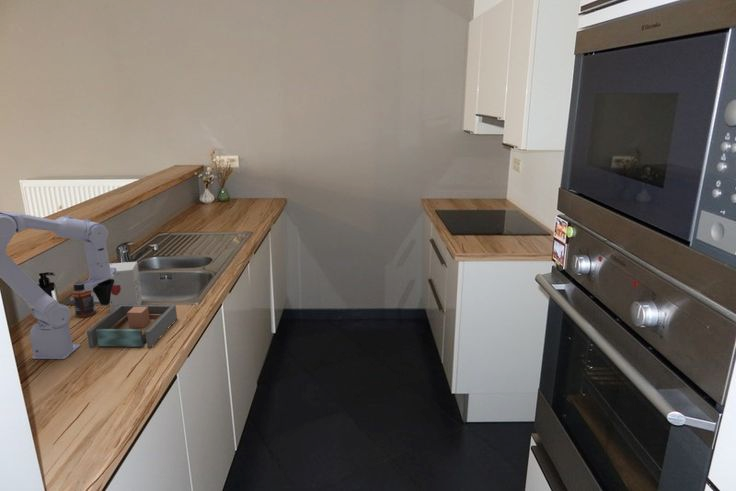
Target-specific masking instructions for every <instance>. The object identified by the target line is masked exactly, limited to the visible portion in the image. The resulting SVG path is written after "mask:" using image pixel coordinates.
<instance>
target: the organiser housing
mask: <svg viewBox="0 0 736 491" xmlns="http://www.w3.org/2000/svg"><path fill="white" fill-rule="evenodd" d="M133 307H148V311H149V314H162V315H161V316H160V317H159V318H158V319H157V320H156V322H155V323H154V324H153V325H152V326H151V327H150V328H149V329H148V330H147V331H146V332H145V335H146V341H145V343H146V346H147V347H151V346H152V345H153V344H154V343H155V342H156V341H157V340H158V338H159V337H160V336H161V335H162V334H163V333H164V332H165V331H166V330H167V329H168V327H169V326H170V325H171V324H172V323H173V322H174V321H175V320H176V319H177V320H178V315H177V307H176V304H141V305H119V306H117V307H116V308H115V309H114V310H112V311H110V312H109V313H107V314H106V315H105V316H104V317H102V318H101V319H100V320H99V321H97V322H96V323H95V324H94V325H93V326H91V327H90V328H89V329H87V331H86V334H87V336H86V337H87V340H88V342H87V343H88V346H89V348H95V346H96V345H98V341H97V336H96V330H97V329H110V328H111V327H112V326H114V325H115V324H116V323H117V322H118V321H119V320H120V319H122V318H123V317H124V316H125V315H126V314H127V312H128V311H129V310H131V309H132V308H133ZM177 320H176V321H177ZM176 321H175V322H176ZM175 322H174V323H175ZM174 323H173V324H174ZM168 330H169V329H168ZM168 330H167V331H168ZM167 331H166V332H167ZM166 332H165V333H166ZM165 333H164V334H165ZM164 334H163V335H164ZM158 341H159V340H158ZM158 341H157V342H158ZM157 342H156V343H157ZM156 343H155V344H156ZM155 344H154V345H155ZM154 345H153V346H154Z"/></svg>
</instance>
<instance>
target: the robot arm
mask: <svg viewBox="0 0 736 491" xmlns="http://www.w3.org/2000/svg"><path fill="white" fill-rule="evenodd" d="M25 229H31V230H32V229H33V230H39V231H45V232H46V231H48V232H53V233H54V234H55V236H56V237H57V238H58V237H59V238H65V239H71V240H77V241H78V240H79V241H83V246H84V252H85V257H86V263H87V268H88V276H89V277H88V279H87V280H86V281H87V282H86V283H85V284H84V288H85V291H92V293H93V294H95V296H96V297H97V300H98V301H99V303H100V305H101V306H107V305H109V303H110V297H111V290H112V287H113V284H114V279H113V278H114V277H115V275H113V274H117V271H116V268H110V264H111V263H110V259H109V253H108V248H107V240H108V238H109V236H110V235H109V231H110V230H108V229H107V226H105V225H104V224H103V223H100V222H94V221H91V220H90V219H87V218H84V219H78V218H74V216H72V215H65V216H60V217H58V218H56V219H50V218H46V217H40V216H35V215H31V214H26V213H19V212H14V211H13V212H11V211H0V279H1V280H2V281H3V282H5V284H7V286H8V287H10V288H11V289H12V290H13V292H15V293H16V294H17V295H18V296H19V297H20V298H21V299H22V300H23V301H25V303H26V306H27V307H29V309H30V310H31V315H32V316H33V317H34V319H36V320H37V321H38V323H36V324H34V325H33V326H32V327H31V329H30V332H29V339H30V344H31V350H32V353H33V354H32V355H33V356H32V357H31V359H33V360H35V359H36V360H45V359H46V360H65V359H66V358H68V357H69V356H70V355H71V354H73V353H74V352H75V351H76V350H77V349H78V348H80V347H81V344H80V343H77V344H76V343H73V339H72V338H73V337H72V332H71V329H70V324H69V323H70V322H69V321H70V319H71V316H72V312H71V309H70V308H69V307H68V305H65V304H62V303H59V302H58V301H57V300H56V299H55V298H53V297H52V296H50V295H49V294H48V293H47V292H45V290H43V288H41V286H39V285H38V284H37V283H36V282H35V280H33V279H32V278H31V277H30V276H29V275H28V274H27V272H25V271H24V270H23V269H22V268H21V267H20V266H19V265H18V264H17V263H16V262H15V261H14V260H13V259H12V258H11V257H10V256H9V255H8V254H7V253H6V250H7V246H8V244H9V243H10V242H11V240H12V238H13V237H14V235H15V233H21V232H22V231H24V230H25Z"/></svg>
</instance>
